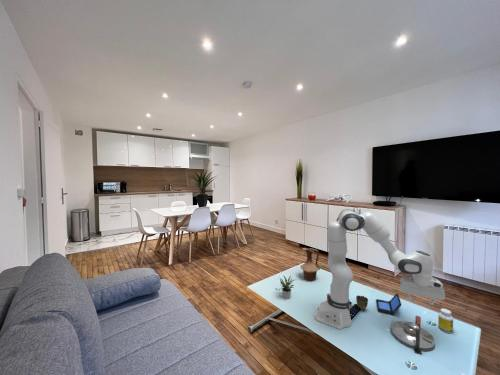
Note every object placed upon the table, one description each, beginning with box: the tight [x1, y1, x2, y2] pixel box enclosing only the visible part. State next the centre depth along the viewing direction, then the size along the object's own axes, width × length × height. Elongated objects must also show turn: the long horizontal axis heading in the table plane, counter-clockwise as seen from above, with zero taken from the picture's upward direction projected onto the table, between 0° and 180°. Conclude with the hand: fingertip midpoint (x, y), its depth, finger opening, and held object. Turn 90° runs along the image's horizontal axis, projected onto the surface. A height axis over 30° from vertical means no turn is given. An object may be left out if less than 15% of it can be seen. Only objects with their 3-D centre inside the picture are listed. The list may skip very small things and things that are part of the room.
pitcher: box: [300, 247, 321, 282], centre depth 191 cm, size 18×17×28 cm
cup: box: [355, 295, 369, 311], centre depth 146 cm, size 8×7×8 cm
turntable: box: [390, 315, 435, 349], centre depth 120 cm, size 20×20×8 cm
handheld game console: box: [375, 293, 402, 317], centre depth 146 cm, size 16×13×9 cm
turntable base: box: [390, 330, 436, 353], centre depth 120 cm, size 20×20×1 cm
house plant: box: [279, 275, 297, 300], centre depth 162 cm, size 14×14×16 cm
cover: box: [403, 321, 416, 337], centre depth 120 cm, size 7×7×5 cm
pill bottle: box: [437, 308, 454, 334], centre depth 125 cm, size 6×6×12 cm
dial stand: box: [412, 323, 423, 355], centre depth 112 cm, size 3×8×12 cm, turn 155°
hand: (421, 302), depth 122 cm, fingers open, 8 cm apart
